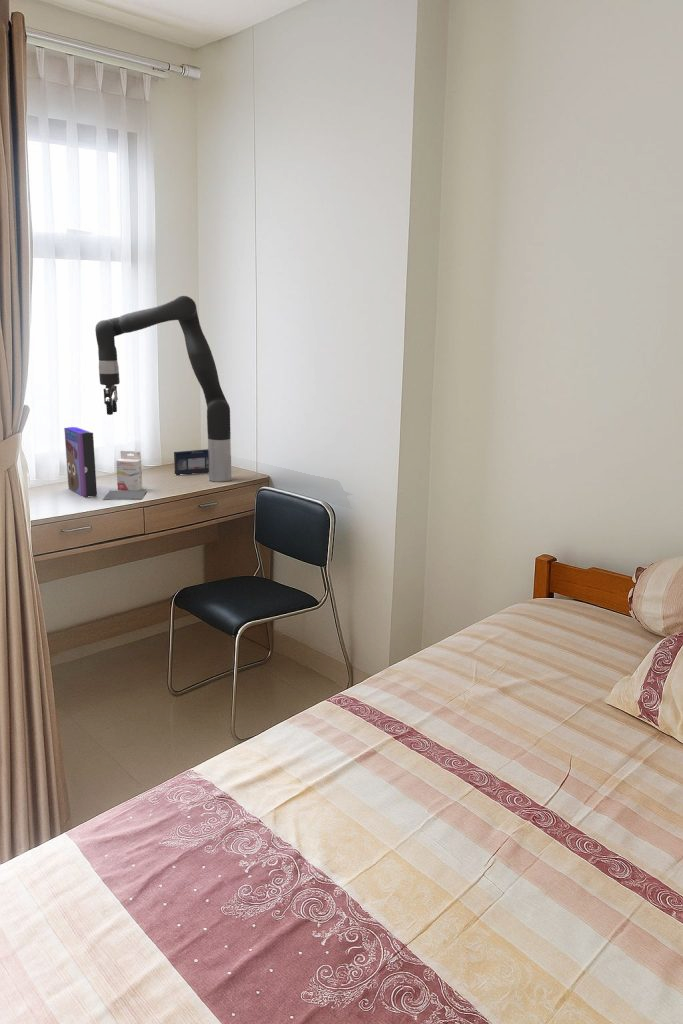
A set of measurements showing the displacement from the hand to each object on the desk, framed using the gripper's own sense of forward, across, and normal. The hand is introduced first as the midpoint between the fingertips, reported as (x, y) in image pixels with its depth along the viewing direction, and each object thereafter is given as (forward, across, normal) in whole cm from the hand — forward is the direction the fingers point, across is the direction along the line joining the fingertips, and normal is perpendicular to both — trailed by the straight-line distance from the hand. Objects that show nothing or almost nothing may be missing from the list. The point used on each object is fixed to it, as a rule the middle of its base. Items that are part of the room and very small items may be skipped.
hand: (112, 413), depth 310 cm
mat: (+28, -26, -8) cm, 39 cm away
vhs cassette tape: (+29, +16, -30) cm, 45 cm away
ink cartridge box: (+28, -15, -8) cm, 33 cm away
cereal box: (+28, -20, +9) cm, 35 cm away
